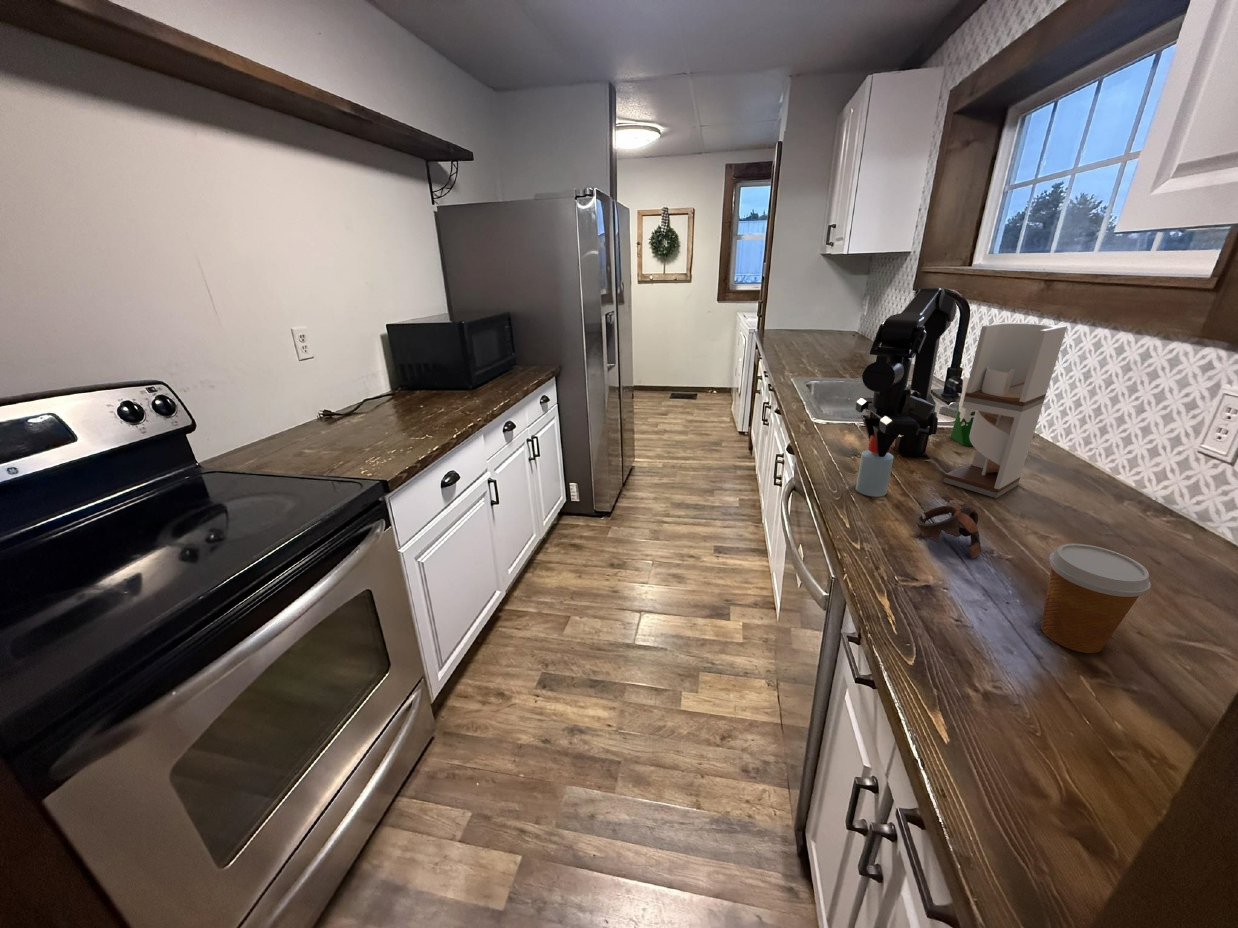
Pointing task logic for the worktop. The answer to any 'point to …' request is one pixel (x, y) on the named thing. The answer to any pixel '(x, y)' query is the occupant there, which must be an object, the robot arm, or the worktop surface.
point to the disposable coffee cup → (1090, 595)
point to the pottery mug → (952, 525)
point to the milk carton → (963, 419)
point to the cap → (873, 444)
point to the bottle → (874, 474)
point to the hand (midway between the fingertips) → (878, 453)
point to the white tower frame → (1006, 402)
